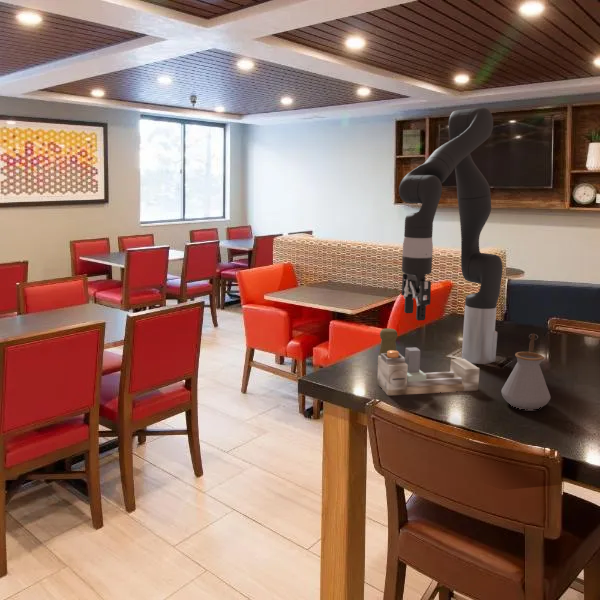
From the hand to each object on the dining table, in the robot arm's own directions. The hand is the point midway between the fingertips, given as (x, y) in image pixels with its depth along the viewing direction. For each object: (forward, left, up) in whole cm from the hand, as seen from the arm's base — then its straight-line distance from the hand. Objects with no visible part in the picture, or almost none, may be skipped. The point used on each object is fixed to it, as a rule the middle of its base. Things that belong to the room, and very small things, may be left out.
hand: (414, 316), depth 156 cm
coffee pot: (-26, +12, -20) cm, 35 cm away
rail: (-4, 0, -20) cm, 20 cm away
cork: (0, -21, -20) cm, 29 cm away
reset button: (+6, 0, -11) cm, 13 cm away
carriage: (0, 0, -16) cm, 16 cm away
